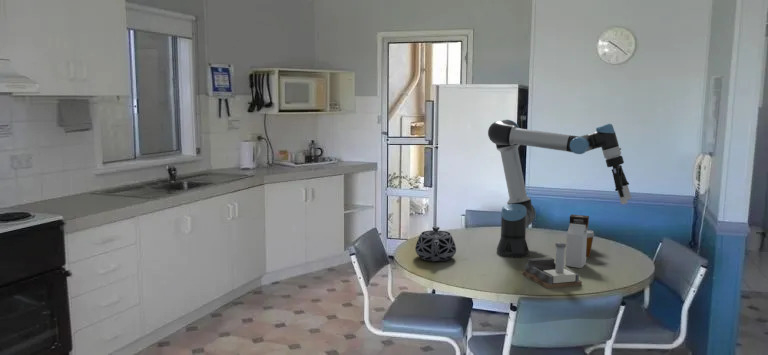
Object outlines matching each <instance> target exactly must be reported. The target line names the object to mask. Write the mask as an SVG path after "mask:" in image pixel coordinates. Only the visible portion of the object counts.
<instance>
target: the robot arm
mask: <svg viewBox="0 0 768 355" xmlns="http://www.w3.org/2000/svg"><path fill="white" fill-rule="evenodd" d="M487 136H488V139H489V141H491V142H492V143H493V144H495V147H496V150H497V151H499V152H500V156H501V157H500V158H501V162H502V166H503V171H504V172H503V173H504V176H505V177H504V178H505V181H506V182H505V183H506V188H507V194H508V201H507V204H505V205H503V206H502V208H501V214H500V216H501V219H500V239H499V241H498V244H497V247H496V254H497V255H498V256H502V257H507V258H524V257H527V256H528V255H529V250H530V249H529V246H528V243H527V239H526V233H527V232H526V229H527V227H528V226H530V225H531V224H532V223H533V222H534V221H535V219H536V215H537V212H536V211H537V210H536V208H535V206H534V205H533V204H532V199H531V198H530V196H528V195H527V190H526V184H525V180H524V173H523V169H522V164H521V158H520V154H519V153H520V152H519V147H520V146H528V147H533V148H534V147H535V148H539V149H540V148H541V149H548V150H554V151H562V152H568V153H573V154H576V155H582V154H585V153H587V152H589V151H593V150H596V149H599V148H601V150H602V153H603V158H604V159H605V163H606V167H607V168H612V169H611V172H612V177H613V180H614V181H613V183H614V186H615V187H614V188H615V192H617V194H618V197H619V200H620V204H621V205H625V204H628V203H629V202H628V200H632V195H631V192H630V189H629V185H630V183H629V182H628V180H627V177H626V175H625V172H624V170H623V168H622V167H623V166H622V165H623V164H624V163H625V161H624V157H623V156H622V152H621V150H622V148H621V147H620V145H619V141H618V138H617V134H616V131H615V129H614V125H613V123H606V124H603V125H601V126H597V127H595V131H594V132H591V133H588V134H583V135H580V136H579V135H578V136H577V135H570V134H562V133H556V132H555V133H554V132H550V131H549V132H548V131H540V130H533V129H528V128H520V127H519V125H518V124H517V123H516V122H515V121H513V120H510V119H503V120H496V121H494V122H492V123H491V124H490V126H489V127H488V129H487Z"/></svg>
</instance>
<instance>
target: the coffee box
mask: <svg viewBox="0 0 768 355" xmlns="http://www.w3.org/2000/svg"><path fill="white" fill-rule="evenodd" d="M570 223H571V224H580V225H586V230H589V226H590V225H589V223H590V216H589V215H583V214H581V215H580V214H570V216H569V225H568V227H569V226H570Z"/></svg>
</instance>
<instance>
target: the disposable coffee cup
mask: <svg viewBox="0 0 768 355" xmlns="http://www.w3.org/2000/svg"><path fill="white" fill-rule="evenodd" d="M594 236H595V232H594V231H593V230H592V229H588V230H587V246H586V258H589V257H591V251H592V245H593V239H594Z"/></svg>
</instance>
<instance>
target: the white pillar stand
mask: <svg viewBox="0 0 768 355" xmlns="http://www.w3.org/2000/svg"><path fill="white" fill-rule="evenodd" d="M566 246H567V243H565V242H560V241H559V242H558V241H557V242H555V249H556V250H555V251H556V252H555V263H556V268H555V270H543V272H545V273H546V274H548V275H550V276H552V277H553V280H552V283H562V282H573V281H575V278H576V274H574V273H572V272H570V271H568V270H566V269H564V267H565V248H566Z"/></svg>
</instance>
